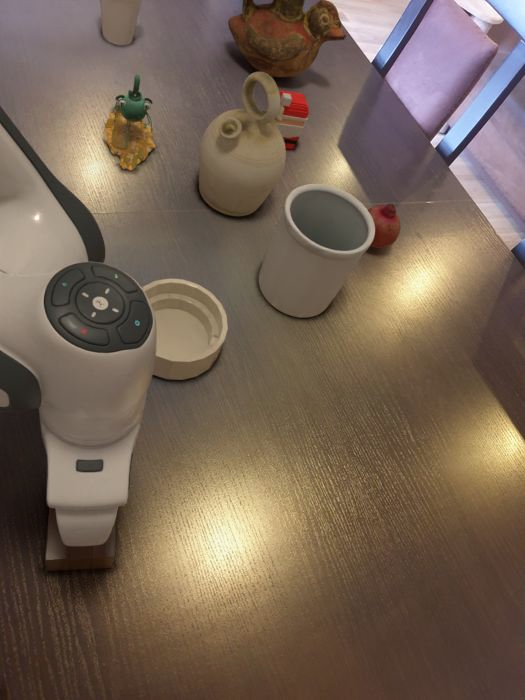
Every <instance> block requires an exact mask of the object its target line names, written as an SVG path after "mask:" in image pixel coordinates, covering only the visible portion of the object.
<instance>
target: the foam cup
mask: <svg viewBox="0 0 525 700" xmlns="http://www.w3.org/2000/svg"><path fill="white" fill-rule="evenodd" d="M142 2H143V0H99V7H100V19H101V30H102V36H103V38H104V39H105V40H106V41H107V42H109V43H111V44H113V45H117V46H128V45H129V44H131V43H132V41H133V38H134V34H135V31H136V26H137V23H138V18H139V14H140V10H141V7H142Z"/></svg>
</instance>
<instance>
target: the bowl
mask: <svg viewBox="0 0 525 700" xmlns="http://www.w3.org/2000/svg"><path fill="white" fill-rule="evenodd" d="M141 288H142V289H143V290H144V292H145V293H146V295H147V297H148V299H149V301H150V303H151V305H152V308H153V311H154V314H155V318H156V325H157V348H156V358H155V364H154V370H153V374H152V376H156V377H158V378H162V379H164V380H174V381H176V380H178V381H184V380H187V379H192V378H196V377H198V376H200V375H201V374H203V373H204V372H206V371H208V370H210V368H211V367H212V365H213V364H214V362H215V361H216V360H217V359H218V356H219V354H220V352H221V350H222V347H223V345H224V342H225V340H226V336H227V334H228V330H229V327H228V326H229V325H228V324H229V323H228V315H227V313H226V311H225V308H224V307H223V304H222V303H221V302H220V301H219V300H218V298H217V297H216V296H215V295H214V294H213V293H212V292H211V291H209V290H208V289H206V288H205V287H203V286H201V285H200V284H198V283H195V282H192V281H191V280H190V281H189V280H187V279H181V278H163V279H157V280H154V281H152V282H149V283H148V284H145V285H143V286H141Z"/></svg>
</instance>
